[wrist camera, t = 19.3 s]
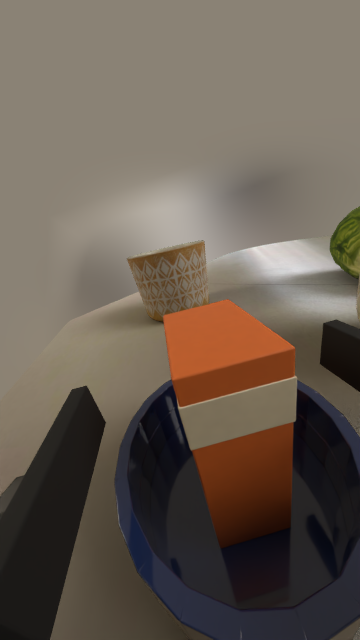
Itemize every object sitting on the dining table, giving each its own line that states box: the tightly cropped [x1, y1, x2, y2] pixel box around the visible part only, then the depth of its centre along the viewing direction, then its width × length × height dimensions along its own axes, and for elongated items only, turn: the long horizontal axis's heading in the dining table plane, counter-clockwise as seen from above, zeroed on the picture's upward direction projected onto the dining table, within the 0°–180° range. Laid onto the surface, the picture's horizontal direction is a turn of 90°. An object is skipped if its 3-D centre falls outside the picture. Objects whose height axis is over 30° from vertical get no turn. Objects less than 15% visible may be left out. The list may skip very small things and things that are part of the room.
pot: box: [114, 379, 360, 640], centre depth 14 cm, size 15×15×6 cm
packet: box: [163, 299, 297, 548], centre depth 12 cm, size 5×7×13 cm
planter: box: [127, 240, 209, 322], centre depth 51 cm, size 19×19×16 cm
